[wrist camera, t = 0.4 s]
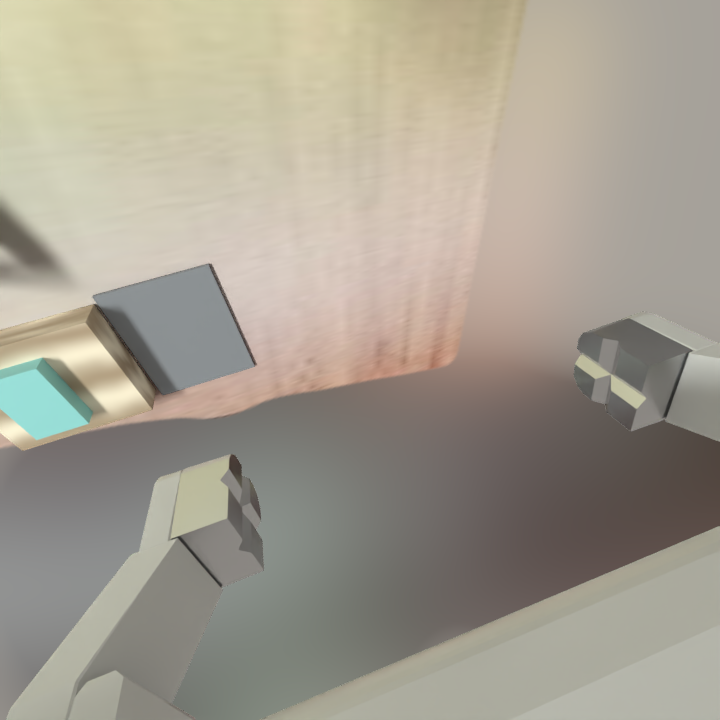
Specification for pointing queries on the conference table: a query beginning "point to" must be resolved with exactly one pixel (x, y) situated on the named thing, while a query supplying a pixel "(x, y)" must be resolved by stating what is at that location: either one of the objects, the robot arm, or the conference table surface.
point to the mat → (178, 328)
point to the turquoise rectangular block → (40, 399)
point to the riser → (78, 368)
